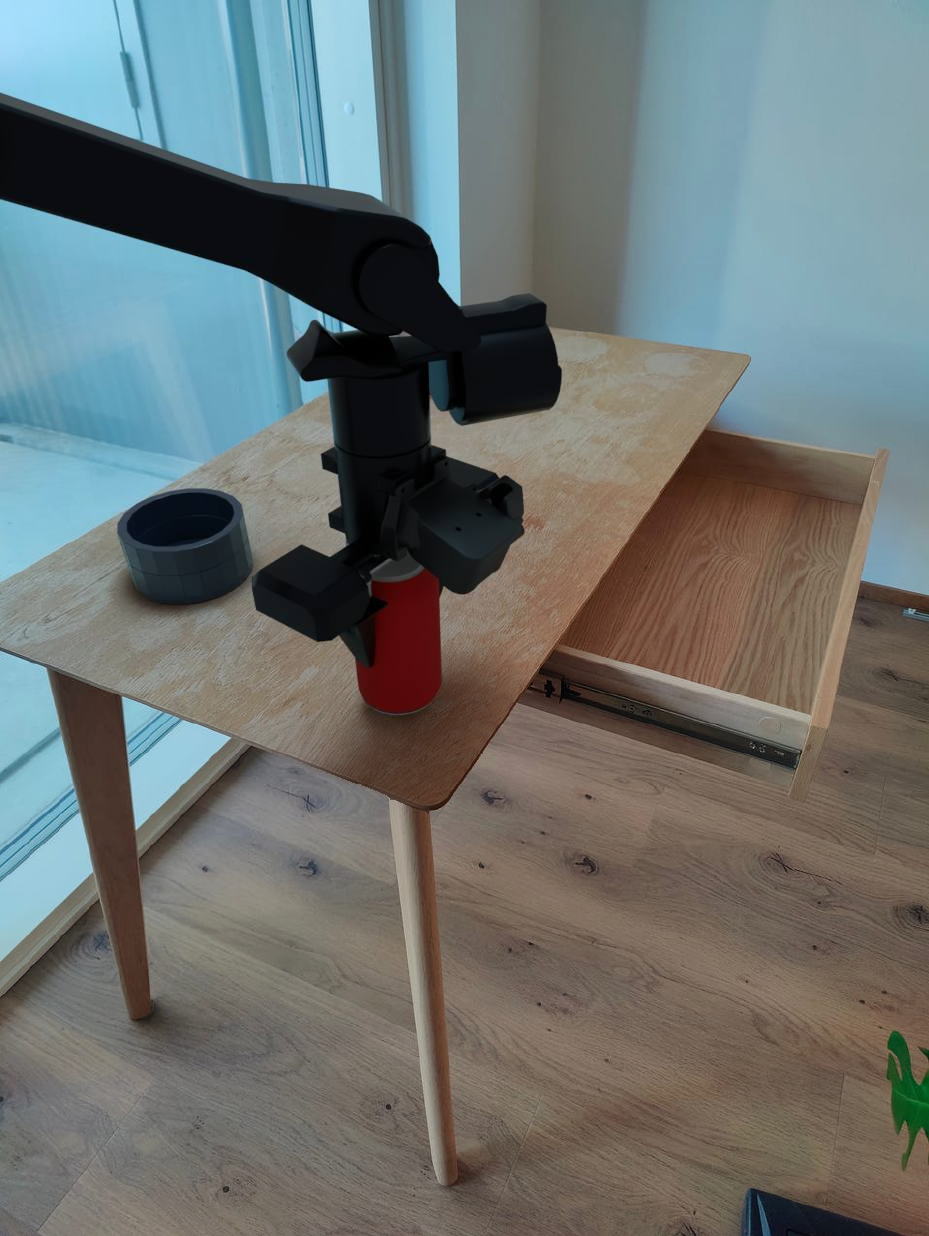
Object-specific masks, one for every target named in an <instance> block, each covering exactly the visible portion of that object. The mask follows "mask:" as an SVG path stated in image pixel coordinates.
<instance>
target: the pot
mask: <svg viewBox="0 0 929 1236" xmlns="http://www.w3.org/2000/svg"><path fill="white" fill-rule="evenodd" d="M116 528H117V529H116V534H117V537H118V540H119V544H120V548H121V551H122V553H123V556H124V560H125V563H126V567H127V570H128V573H129V576H130V580H131V581H132V583H133V586H134V589H135V590H136V591H137V592H138V593H139V595H141V596H142V597H144V598H146V599H148V600H150V601H152V602H156V603H160V604H164V605H165V604H166V605H190V604H191V605H192V604H197V603H198V604H199V603H202V602H206V601H211V600H213V599H216V598H219V597H222V596H224V595H226V594H228V593H229V592H231V591H233V590H234V589H236V588H237V587H239V586H240V585H241V584H242V583H243V582H245V581H246V579H248V577H249V575H250V574H251V571H252V569H253V565H254V559H253V554H252V550H251V549H252V548H251V543H250V539H249V534H248V529H247V524H246V519H245V514H244V509H243V504H242V503H241V502H240V501H239V500H238V499H237V498H236V497H235V496H234V495H232V494H229V493H227V492H225V491H222V490H218V489H212V488H206V487H205V488H204V487H203V488H201V487H195V488H194V487H193V488H192V487H190V488H187V487H186V488H181V489H174V490H168V491H165V492H162V493H159V494H155V495H151V496H149V497H147V498H145V499H143V500H141V501H139V502H138V503H135V504H134V505H133V506H132V507H130V508H129V509H128V510H126V511H125V512H124V513H123V514H122V516H121V517H120V519H119V520H118V522H117V525H116Z"/></svg>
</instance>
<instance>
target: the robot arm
mask: <svg viewBox="0 0 929 1236" xmlns="http://www.w3.org/2000/svg"><path fill="white" fill-rule="evenodd" d="M0 200H1V201H4V202H8V203H11V204H14V205H18V206H22V207H24V208H29V209H32V210H35V211H39V212H42V213H45V214H49V215H53V216H56V217H59V218H63V219H66V220H69V221H73V222H77V223H80V224H83V225H86V226H90V227H93V228H96V229H101V230H104V231H108V232H110V233H114V234H118V235H121V236H125V237H127V238H128V237H129V238H131V239H135V240H138V241H141V242H145V243H149V244H152V245H156V246H160V247H163V248H166V249H169V250H173V251H177V252H180V253H183V254H186V255H190V256H194V257H198V258H201V259H204V260H207V261H210V262H214V263H217V264H221V265H224V266H228V267H231V268H235V269H239V270H241V271H245V272H247V273H249V274H251V275H253V276H255V277H256V278H259V279H261V280H264V281H265V282H267V283H269V284H271V285H273V286H274V287H276V288H278V289H280V290H281V291H283V292H284V293H286V294H288V295H290V296H292V297H293V298H294V299H297V300H298V301H300V302H302V303H304V304H305V305H307V306H309V307H311V308H312V309H314V310H317V311H319V312H320V313H323V314H325V315H327V316H329V317H331V318H333V319H335V320H337V321H339V322H341V323H343V324H345V325H347V326H350V327H351V328H353V329H354V330H346V331H340V332H339V331H337V332H334V331H331V330H330V329H328V328H326V327H325V326H324V325H323V324H322V323H321V322H320V320H317V319H312V320H311V321H310V322H309V324H308V327H307V329H306V330H305V332H304V333H303V335H302V336H300V337H299V338H298V339H297V340H296V341H295V342H294V343H293V344H292V345H291V346H290V347H289V348H288V349H287V351H286V358H287V359H288V361H289V362H290V364H291V365H292V367H293V368H294V370H295V372H296V373H297V374H298V376H299V378H300V379H301V380H302V381H304V382H305V383H306V382H307V383H310V382H316V381H323V380H326V382H327V389H328V390H327V391H328V401H329V408H330V409H329V410H330V418H331V427H332V436H333V444H334V446H333V447H331V448H329V449H327V450H325V451H323V452H321V453H320V462H321V467H322V470H323V471H324V470H325V471H326V472H330V473H332V474H335V475H337V483H338V491H339V500H340V505H339V506H338V507H336V508H335V509H333V510H331V511H330V512H328V513H327V518H328V527H329V528H330V529H332V530H335V531H336V532H340V533H342V534H344V537H345V546H344V547H342V548H341V549H339V550H338V551H337V552H335V553H333V554H332V555H331V556H329V555H326V554H324V553H322V552H320V551H317V550H316V549H313V548H311V547H309V546H307V545H305V544H299V545H298V546H296V547H295V548H293V549H291V550H289V551H288V552H286V553H285V554H283V555H281V556H280V557H278V558H277V559H275V560H274V561H272V562H270V563H269V564H267V565H265V566H263V567H262V568H261V569H259V570H258V571H257V572H256V573H255V574H254V575H252V577H251V592H252V597H253V602H254V607H255V611H257V612H259V613H261V614H263V615H265V616H266V617H268V618H270V619H272V620H274V621H276V622H277V623H280V624H282V625H284V626H286V627H287V628H290V629H292V630H293V631H296V632H297V633H299V634H301V635H303V636H304V637H307V638H308V639H311V640H312V641H314V642H316V643H323V642H332V641H333V640H335V639H336V638H338V637H339V638H340V639H341V641H342V642H343V644H344V645H345V647H346V648H347V649H348V650H349V652H350V653H351V654H352V655H353V657H354V659H355V658H356V659H357V661H358V662H359V663H360V664H362V665H364V666H366V667H367V668H371V667H372V666H374V660H375V623H374V615H375V614H377V613H378V612H379V611H381V610H382V609H383V608H385V607H386V606H387V605H388V602H386V601H384V600H382V599H380V598H378V597H375V596H373V595H372V589H371V584H372V574H373V573H375V572H376V571H378V570H379V569H380V568H382V567H383V566H385V565H386V564H388V563H389V562H390V561H392V560H394V561H396V562H398V561H400V560H401V559H402V558H404V557H405V556H407V551H408V552H409V554H410V556H411V557H412V558H413V559H414V560H415V561H417V562H418V563H419V564H420V565H422V566H423V567H424V568H425V569H427V570H428V571H429V572H430V573H432V574H433V575H434V576H436V577H437V578H438V579H439V598H441V596H442V593H443V589H444V588H446V589H447V590H448V591H449V592H451V593H453V594H456V595H468V594H470V593H472V592H473V591H474V590H476V588H477V587H478V586H479V585H481V583H482V582H484V581H485V580H486V579H488V578H489V577H490V576H491V575H492V574H495V573H497V572H498V571H499V570H500V569H501V567H502V564H503V563H504V561H505V558H506V556H507V554H508V552H509V549H510V547H511V545H513V544H514V543H515V542H516V541H518V540H519V539H520V538H521V537H523V536H524V535H525V532H526V530H525V527H524V525H523V523H524V520H525V519H524V518H523V517H524V514H525V506H524V505H525V503H524V489H523V486H522V485H521V484H519V483H518V482H517V481H516V480H514V479H513V478H512V477H510V476H509V475H507V474H503V475H501V477H499V475H498V474H497V472H495V471H491V470H489V469H486V468H483V467H479V466H477V465H474V464H471V463H468V462H466V461H462V460H460V459H456V458H454V457H450V456H448V455H447V449H445V448H443V447H439V446H437V445H434V444H432V430H431V429H432V428H431V427H432V426H431V422H432V421H431V399H432V401H433V404H434V405H435V407H436V409H437V410H438V411H440V412H443V413H444V412H448V413H449V415H450V416H451V418H452V419H453V421H454V422H455V423H456V424H457V425H459V426H461V427H464V426H469V425H474V424H475V425H476V424H481V423H485V422H486V423H487V422H492V421H497V420H502V419H506V418H507V419H508V418H513V417H518V416H523V415H529V414H534V413H540V412H546V411H550V410H551V409H552V408H553V407H555V405H556V403H557V401H558V400H559V396H560V393H561V387H562V382H563V381H562V380H563V369H562V366H561V365H560V364H559V357H558V351H557V347H556V343H555V339H554V335H553V334H552V332H551V329H550V328H549V325H548V324H547V311H548V310H547V309H548V305H547V304H546V302H544V301H543V300H541V299H539V298H538V297H537V296H535V295H534V294H532V293H530V292H528V293H521V294H514V295H510V296H507V297H506V298H503V299H500V300H496V301H488V302H481V303H476V304H475V303H474V304H467V305H459V304H457V302H455V301H454V300H453V298H452V297H451V295H450V294H449V293H448V292H447V290H446V289H445V288H444V286H443V285H442V284H441V282H440V276H441V273H440V263H439V256H438V253H437V250H436V248H435V246H434V243H433V241H432V238H431V236H430V234H429V233H427V232H426V230H425V229H424V228H423V227H422V226H420V225H419V224H418V223H416V222H414V221H413V220H412V219H409V218H408V217H406V216H405V215H403V214H402V213H401V212H399V211H397V210H395V208H392V206H389V205H388V204H386V203H385V202H384V201H382V200H380V199H379V198H377V197H375V196H373V195H371V194H369V193H364V192H360V191H354V190H348V189H347V190H346V189H341V188H335V187H327V186H321V185H314V184H307V183H292V182H291V183H290V182H273V181H267V180H260V179H253V178H247V177H244V176H241V175H239V174H236V173H233V172H230V171H227V170H224V169H221V168H218V167H216V166H213V165H210V164H208V163H204V162H201V161H198V160H195V159H193V158H190V157H187V156H185V155H181V154H178V153H175V152H173V151H169V150H167V149H165V148H162V147H158V146H155V145H153V144H149V143H147V142H144V141H141V140H138V139H136V138H133V137H130V136H126V135H124V134H121V133H118V132H115V131H112V130H111V129H107V128H103V127H101V126H98V125H96V124H92V123H89V122H87V121H83V120H81V119H78V118H75V117H72V116H69V115H66V114H63V113H61V112H57V111H55V110H52V109H49V108H46V107H43V106H41V105H37V104H35V103H32V102H29V101H26V100H23V99H21V98H17V97H15V96H12V95H9V94H6V93H4V92H1V91H0ZM403 331H404V332H406V333H408V334H409V335H411V336H402V337H400V336H399V335H401V334H402V332H403Z"/></svg>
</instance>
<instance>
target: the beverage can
mask: <svg viewBox="0 0 929 1236" xmlns="http://www.w3.org/2000/svg"><path fill="white" fill-rule="evenodd" d="M371 589H372V595H373V596H375V597H378V598H380V599H382V600H384V601H386V602H388V605H387V606H386V607H385V608H383V609H382V610H381V611H379V612H378V613H377V614H375V615H374V623H375V660H374V666H372V667H371V668H367V667H366V666H364V665H362V664H360V663H359V662H358V661H357V659H356V658H355V657H354V661H355V670H356V679H357V688H358V692H359V693H360V695H361V697H362V699H363V701H364V702H365V703H366V705H368V706H369V707H370V708H371V709H373V710H375V711H377V712H379V713H382V714H386V715H392V716H403V715H409V714H413V713H417V712H419V711H421V710H423V709H424V708H426V707H428V706H430V705H431V703H433V701H434V700H435V699H436V697H437V696H438V694H439V692H440V690H441V688H442V684H443V683H442V682H443V671H442V670H443V669H442V636H441V632H442V631H441V603H440V600H441V599H440V598H441V597H440V598H439V579H438V578H437V577H436V576H434V575H433V574H432V573H430V572H429V571H428V570H427V569H425V568H424V567H423V566H422V565H420V564H419V563H418V562H417V561H415V560H414V559H413V558H412V557H411V556H410V554H409V552H408V551H407V556H405V557H404V558H402V559H401V560H400V561H398V562H396V561H394V560H392V561H390V562H389V563H388V564H386V565H385V566H383V567H382V568H380V569H379V570H378V571H376V572H375V573H373V574H372V584H371Z"/></svg>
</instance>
